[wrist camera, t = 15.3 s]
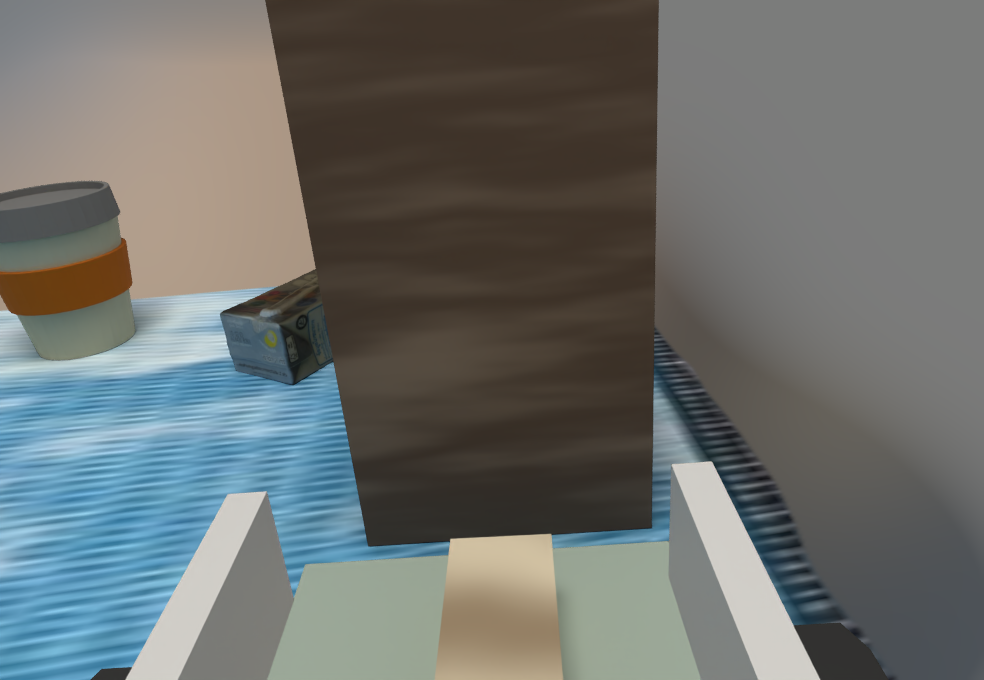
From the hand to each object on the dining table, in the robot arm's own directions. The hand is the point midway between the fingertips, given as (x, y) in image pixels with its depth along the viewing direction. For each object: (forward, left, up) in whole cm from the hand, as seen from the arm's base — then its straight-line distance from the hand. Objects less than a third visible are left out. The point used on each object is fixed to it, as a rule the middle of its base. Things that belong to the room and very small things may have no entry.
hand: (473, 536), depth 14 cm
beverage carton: (-37, +40, -18) cm, 57 cm away
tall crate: (-12, +26, -17) cm, 33 cm away
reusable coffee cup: (-62, +33, -18) cm, 72 cm away
